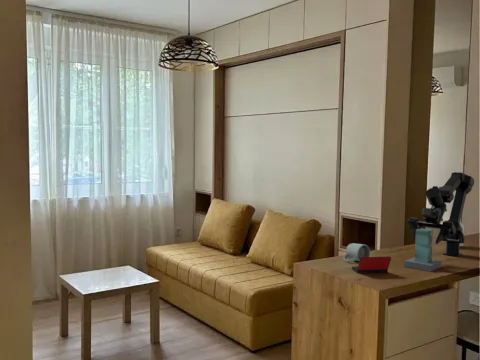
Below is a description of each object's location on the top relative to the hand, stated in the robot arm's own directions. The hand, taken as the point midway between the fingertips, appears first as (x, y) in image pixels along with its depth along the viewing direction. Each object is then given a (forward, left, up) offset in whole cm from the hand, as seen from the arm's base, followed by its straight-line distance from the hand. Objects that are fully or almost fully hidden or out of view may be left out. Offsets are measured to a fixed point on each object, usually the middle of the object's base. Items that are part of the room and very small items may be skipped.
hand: (424, 241), depth 192 cm
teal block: (+1, 0, -8) cm, 8 cm away
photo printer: (-52, -6, -11) cm, 53 cm away
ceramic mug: (+13, -25, -11) cm, 30 cm away
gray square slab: (+1, 0, -10) cm, 10 cm away
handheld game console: (+24, -11, -11) cm, 29 cm away
